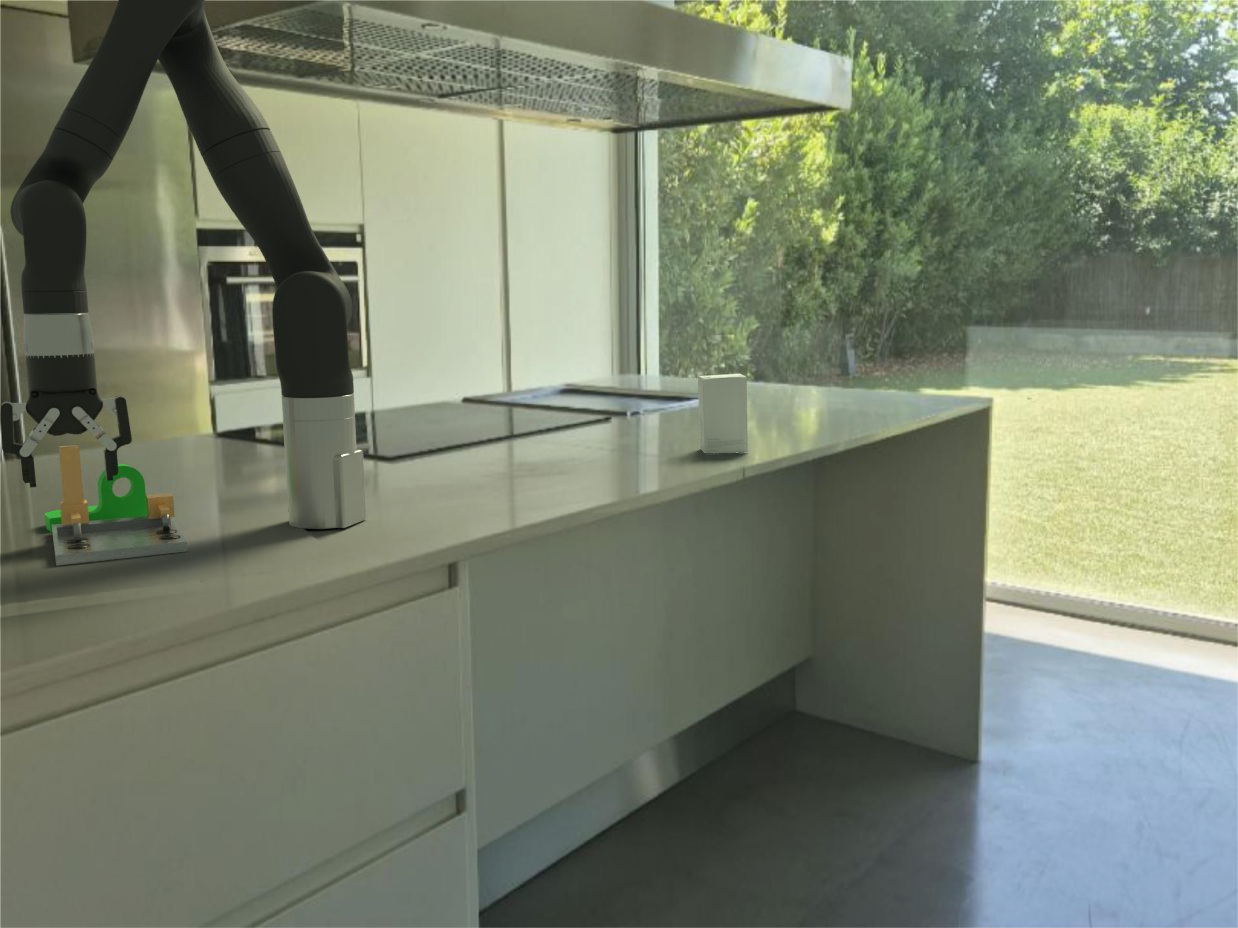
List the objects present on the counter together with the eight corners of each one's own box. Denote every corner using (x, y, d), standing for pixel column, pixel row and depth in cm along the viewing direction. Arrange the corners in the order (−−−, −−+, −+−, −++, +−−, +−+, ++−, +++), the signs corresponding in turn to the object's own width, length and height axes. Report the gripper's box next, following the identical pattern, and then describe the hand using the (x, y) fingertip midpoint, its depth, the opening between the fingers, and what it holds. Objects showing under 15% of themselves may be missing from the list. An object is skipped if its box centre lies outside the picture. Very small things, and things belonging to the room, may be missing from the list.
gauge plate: (168, 522, 151) (165, 486, 151) (187, 551, 134) (184, 510, 133) (52, 533, 145) (49, 496, 144) (56, 565, 127) (52, 523, 127)
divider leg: (88, 527, 142) (81, 444, 140) (92, 538, 135) (84, 452, 133) (62, 529, 140) (54, 446, 139) (64, 541, 133) (56, 454, 132)
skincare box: (742, 453, 209) (742, 373, 207) (748, 457, 203) (749, 375, 201) (697, 454, 208) (697, 374, 206) (702, 459, 202) (702, 376, 200)
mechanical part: (136, 515, 158) (132, 458, 157) (147, 521, 153) (143, 463, 152) (42, 526, 151) (36, 467, 150) (50, 533, 146) (45, 472, 145)
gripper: (121, 348, 143) (131, 474, 145) (-7, 352, 136) (6, 484, 139) (126, 350, 136) (136, 482, 139) (-8, 355, 130) (5, 493, 132)
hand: (71, 483), depth 139 cm, fingers open, 8 cm apart
